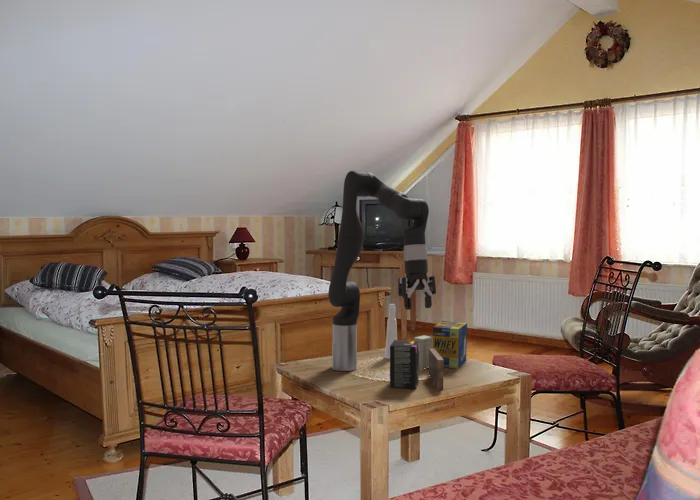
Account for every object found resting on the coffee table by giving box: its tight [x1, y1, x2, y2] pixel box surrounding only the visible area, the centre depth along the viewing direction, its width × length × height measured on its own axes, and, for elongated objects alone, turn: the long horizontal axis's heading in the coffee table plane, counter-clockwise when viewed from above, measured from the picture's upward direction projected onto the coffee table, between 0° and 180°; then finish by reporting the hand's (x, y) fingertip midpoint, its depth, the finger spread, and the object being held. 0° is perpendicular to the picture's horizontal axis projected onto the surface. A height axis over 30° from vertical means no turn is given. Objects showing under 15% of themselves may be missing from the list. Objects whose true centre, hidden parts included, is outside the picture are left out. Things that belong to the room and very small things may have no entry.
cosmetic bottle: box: [383, 303, 398, 360], centre depth 276 cm, size 6×6×22 cm
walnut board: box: [428, 349, 445, 390], centre depth 239 cm, size 2×18×10 cm, turn 3°
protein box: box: [432, 320, 468, 370], centre depth 267 cm, size 10×15×16 cm
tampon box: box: [389, 339, 420, 390], centre depth 235 cm, size 11×9×15 cm
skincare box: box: [413, 335, 433, 369], centre depth 258 cm, size 6×4×12 cm
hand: (418, 308), depth 220 cm, fingers open, 8 cm apart
